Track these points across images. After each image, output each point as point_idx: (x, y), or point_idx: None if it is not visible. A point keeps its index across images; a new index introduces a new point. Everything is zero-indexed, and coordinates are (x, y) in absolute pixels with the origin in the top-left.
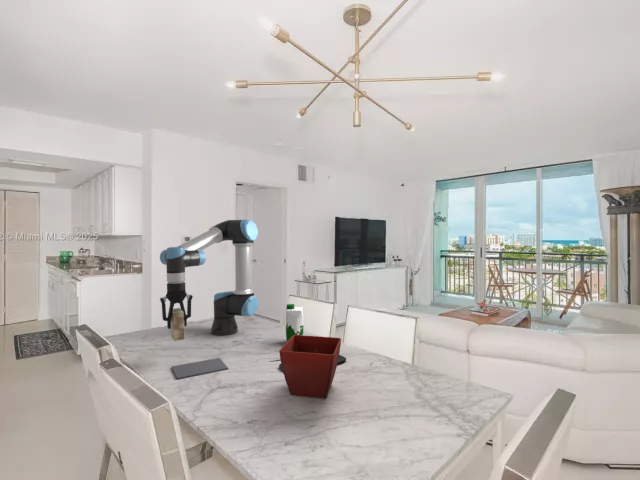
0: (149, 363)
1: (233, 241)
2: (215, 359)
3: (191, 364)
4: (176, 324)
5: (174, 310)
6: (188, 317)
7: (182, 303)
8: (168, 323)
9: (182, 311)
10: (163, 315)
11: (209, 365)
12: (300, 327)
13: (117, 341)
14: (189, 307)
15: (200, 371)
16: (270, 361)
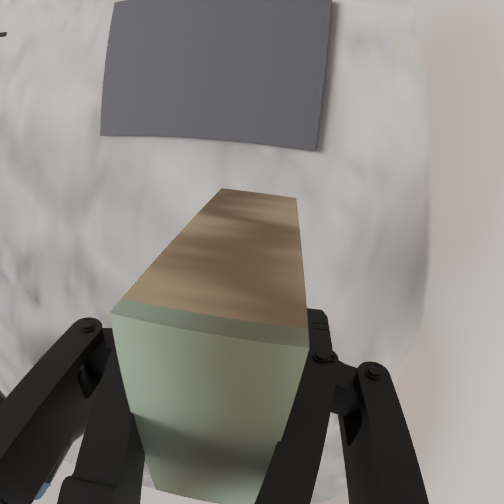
0: (370, 273)
1: None
2: (117, 121)
3: (225, 116)
4: (270, 241)
5: (232, 464)
6: (105, 329)
7: (74, 496)
8: (324, 342)
9: (125, 354)
10: (398, 412)
11: (162, 58)
12: None
13: (346, 480)
14: (28, 399)
15: (220, 9)
16: (4, 33)
